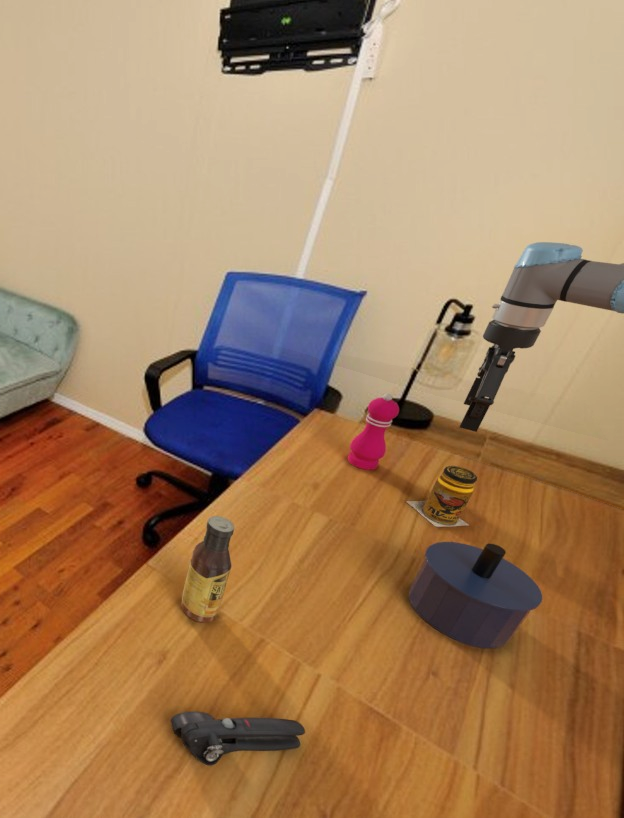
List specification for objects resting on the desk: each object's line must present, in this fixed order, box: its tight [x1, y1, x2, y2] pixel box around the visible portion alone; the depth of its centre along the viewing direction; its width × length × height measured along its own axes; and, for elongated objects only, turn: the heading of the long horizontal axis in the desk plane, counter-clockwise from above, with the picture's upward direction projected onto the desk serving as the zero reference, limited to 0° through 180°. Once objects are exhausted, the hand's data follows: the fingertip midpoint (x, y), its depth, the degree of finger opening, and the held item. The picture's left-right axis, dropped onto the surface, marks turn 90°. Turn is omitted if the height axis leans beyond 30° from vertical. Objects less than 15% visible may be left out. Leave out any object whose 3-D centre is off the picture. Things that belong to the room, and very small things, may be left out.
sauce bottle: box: [180, 515, 235, 624], centre depth 86 cm, size 7×6×20 cm
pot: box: [407, 558, 532, 649], centre depth 87 cm, size 14×14×10 cm
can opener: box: [170, 711, 306, 766], centre depth 70 cm, size 18×7×6 cm, turn 90°
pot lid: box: [424, 541, 543, 612], centre depth 83 cm, size 15×15×7 cm
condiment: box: [405, 465, 478, 528], centre depth 109 cm, size 7×8×12 cm
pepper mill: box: [347, 393, 400, 471], centre depth 125 cm, size 7×7×20 cm
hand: (469, 416), depth 109 cm, fingers open, 13 cm apart
